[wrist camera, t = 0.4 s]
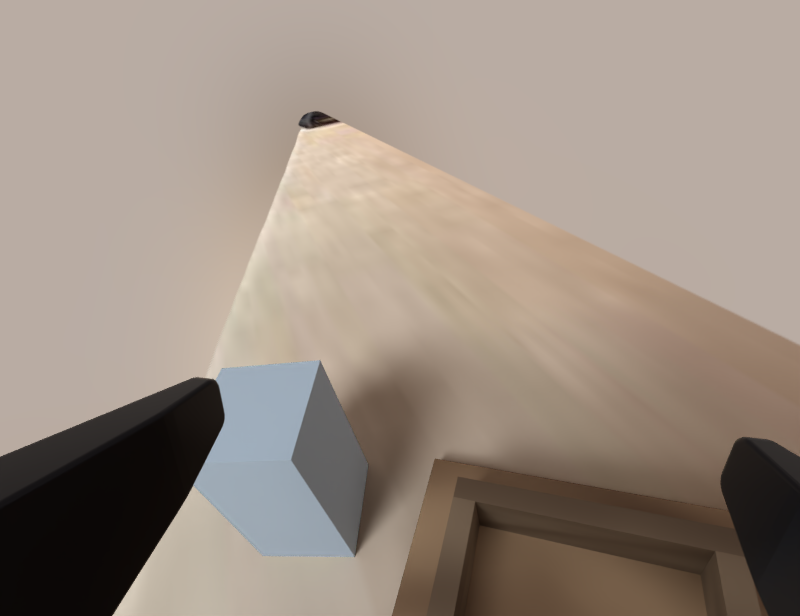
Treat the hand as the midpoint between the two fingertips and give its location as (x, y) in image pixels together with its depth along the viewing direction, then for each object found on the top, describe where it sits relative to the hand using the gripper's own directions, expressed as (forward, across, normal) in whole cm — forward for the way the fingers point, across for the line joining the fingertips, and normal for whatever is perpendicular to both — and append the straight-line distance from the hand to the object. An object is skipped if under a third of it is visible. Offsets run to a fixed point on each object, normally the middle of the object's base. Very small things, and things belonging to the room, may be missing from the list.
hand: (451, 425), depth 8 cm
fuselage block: (+10, +7, +15) cm, 20 cm away
